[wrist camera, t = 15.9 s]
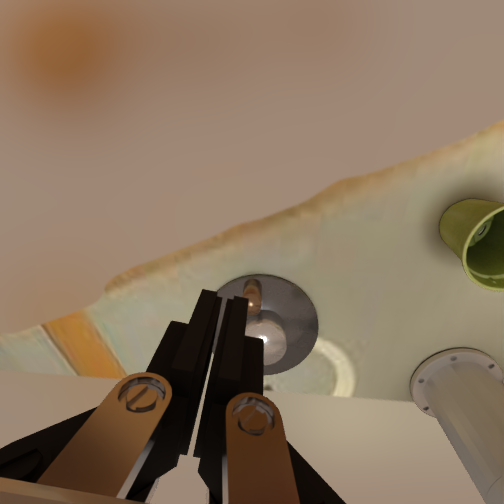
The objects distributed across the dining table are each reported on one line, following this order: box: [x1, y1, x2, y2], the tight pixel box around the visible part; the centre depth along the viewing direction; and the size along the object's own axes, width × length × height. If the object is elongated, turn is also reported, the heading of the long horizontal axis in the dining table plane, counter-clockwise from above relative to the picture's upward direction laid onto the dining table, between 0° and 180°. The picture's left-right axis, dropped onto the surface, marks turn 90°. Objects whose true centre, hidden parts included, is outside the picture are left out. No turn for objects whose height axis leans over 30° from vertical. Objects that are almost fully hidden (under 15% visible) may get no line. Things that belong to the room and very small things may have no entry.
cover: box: [245, 309, 287, 365], centre depth 43 cm, size 6×6×4 cm
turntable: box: [212, 275, 318, 375], centre depth 43 cm, size 16×16×6 cm
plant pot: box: [439, 199, 504, 291], centre depth 35 cm, size 9×9×9 cm
